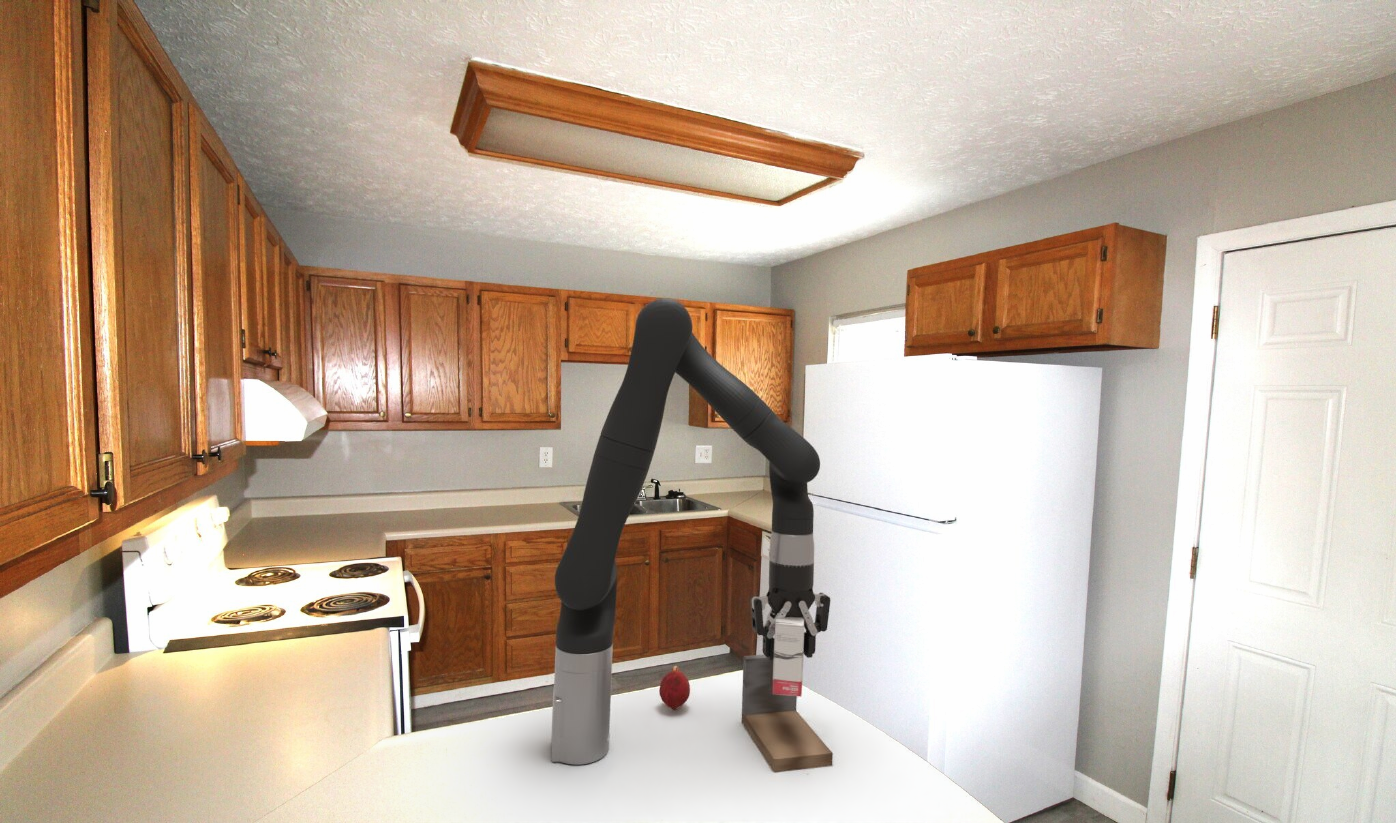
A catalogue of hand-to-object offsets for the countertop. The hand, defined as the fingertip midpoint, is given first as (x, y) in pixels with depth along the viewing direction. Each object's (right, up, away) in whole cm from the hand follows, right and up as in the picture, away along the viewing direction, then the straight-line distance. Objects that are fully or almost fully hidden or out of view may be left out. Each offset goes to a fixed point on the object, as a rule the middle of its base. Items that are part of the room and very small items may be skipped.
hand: (789, 657), depth 103 cm
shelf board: (-1, -15, +1) cm, 15 cm away
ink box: (0, -5, 0) cm, 5 cm away
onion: (-20, -15, +11) cm, 27 cm away
